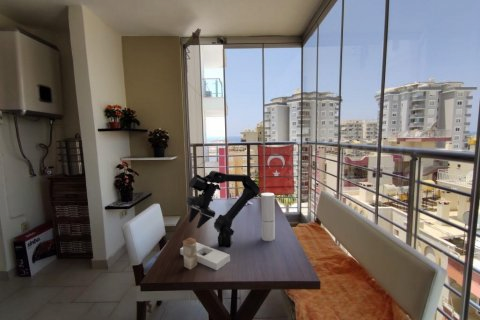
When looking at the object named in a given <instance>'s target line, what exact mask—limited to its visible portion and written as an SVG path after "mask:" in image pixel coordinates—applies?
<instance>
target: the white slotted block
mask: <svg viewBox="0 0 480 320" xmlns="http://www.w3.org/2000/svg"><path fill="white" fill-rule="evenodd" d="M179 249H180V250H179V253H180V255H181V256H183V257H184V252H183V246H182V247H181V248H179ZM196 250H197V263H199V264H202V265H204V266H205V267H209V268H211V269H212V270H215V271H218V270H220V269H221V268H222V267H224V266H226V264H228V263H230V261H231V255H230V254H229V253H226V252H224V251H221V250H218V249H216V248H212V247H211V246H208V245H205V244H202V243H199V242H197V241H196ZM203 254H205V255H203Z"/></svg>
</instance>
